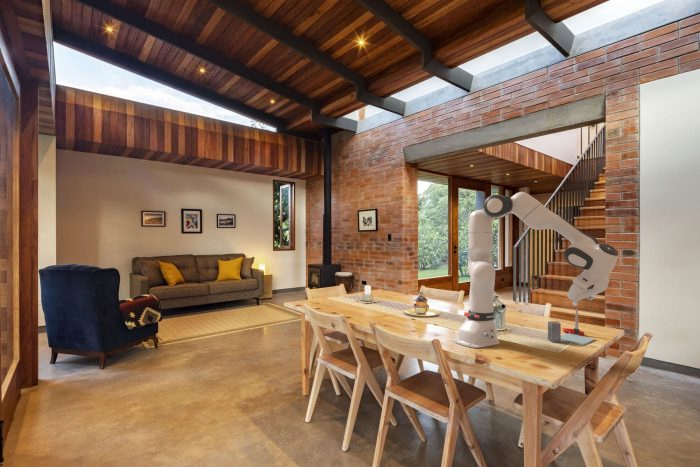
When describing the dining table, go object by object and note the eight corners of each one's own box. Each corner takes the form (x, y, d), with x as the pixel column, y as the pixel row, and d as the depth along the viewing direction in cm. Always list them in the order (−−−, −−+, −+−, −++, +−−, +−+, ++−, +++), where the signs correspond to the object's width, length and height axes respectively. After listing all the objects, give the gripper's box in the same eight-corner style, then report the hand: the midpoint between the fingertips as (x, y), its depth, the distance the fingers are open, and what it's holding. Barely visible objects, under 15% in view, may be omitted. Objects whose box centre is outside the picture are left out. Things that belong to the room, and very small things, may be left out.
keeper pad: (583, 345, 160) (583, 344, 160) (556, 338, 169) (555, 337, 169) (595, 340, 167) (595, 339, 167) (568, 334, 177) (568, 333, 177)
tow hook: (559, 329, 185) (568, 333, 176) (560, 305, 186) (568, 308, 176) (576, 331, 184) (586, 335, 174) (577, 307, 184) (586, 309, 175)
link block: (560, 342, 164) (560, 323, 164) (551, 342, 165) (551, 323, 165) (556, 339, 168) (556, 321, 168) (547, 339, 169) (547, 321, 169)
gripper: (603, 268, 154) (591, 291, 161) (570, 279, 147) (559, 303, 155) (617, 277, 149) (604, 300, 156) (583, 288, 142) (572, 312, 150)
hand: (582, 302), depth 156 cm, fingers open, 8 cm apart
